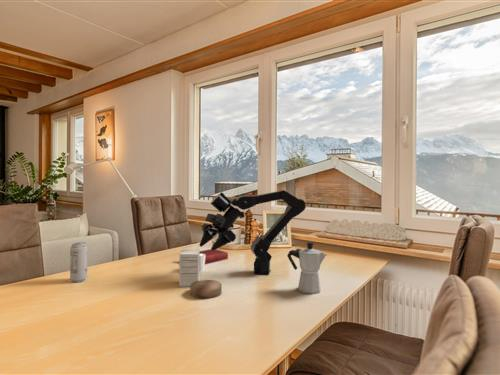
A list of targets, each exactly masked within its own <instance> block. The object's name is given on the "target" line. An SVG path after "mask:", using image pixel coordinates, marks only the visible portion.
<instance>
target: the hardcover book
mask: <svg viewBox="0 0 500 375" xmlns="http://www.w3.org/2000/svg"><path fill="white" fill-rule="evenodd" d="M200 253H202V254H205V255H206V256H205V265H208V264H212V263H216V262H221V261H225V260H228V259H229V252H228V251H226V250H225V251H224V250H220V249H216V250H214V251H212V250H211V248H210V249H204V250H200Z"/></svg>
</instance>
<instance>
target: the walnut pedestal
mask: <svg viewBox="0 0 500 375" xmlns="http://www.w3.org/2000/svg"><path fill="white" fill-rule="evenodd" d="M222 284H223V283H222V282H220V281H218V280H214V279H202V280H201V279H199V281H196V282H194V283H192V284H191V286H190V296H192V297H194V298H196V299H202V300H203V299H205V300H208V299H214V298H218V297H219V296H220V295H222V292H223V291H222V288H223V285H222Z"/></svg>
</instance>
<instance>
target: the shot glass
mask: <svg viewBox="0 0 500 375" xmlns="http://www.w3.org/2000/svg"><path fill="white" fill-rule="evenodd" d="M205 256H206V255H205V254H202V253H200V258H199V273H202V272H204V271H205V265H206V264H205Z"/></svg>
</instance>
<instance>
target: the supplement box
mask: <svg viewBox="0 0 500 375" xmlns="http://www.w3.org/2000/svg"><path fill="white" fill-rule="evenodd" d="M200 251H201V250H200V249H182V250H180V252H179V264H178V265H179V267H178V268H179V270H178V271H179V277H178V278H179V282H178V284H179V287H187V288H188V287H191V284H192V283H194V282H196V281H200V272H199V258H200Z"/></svg>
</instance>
